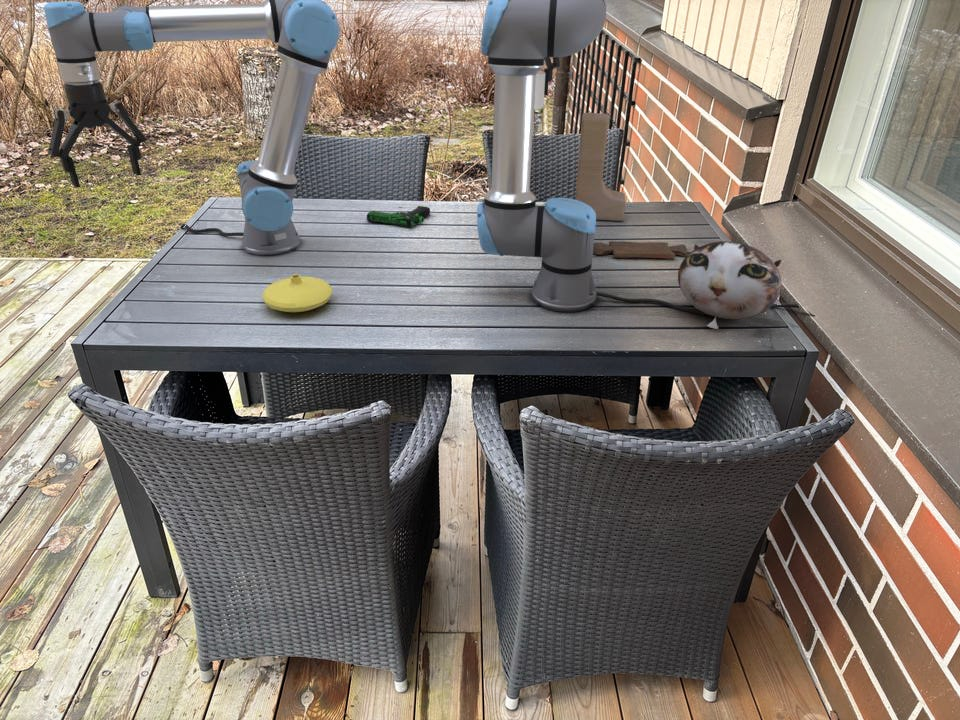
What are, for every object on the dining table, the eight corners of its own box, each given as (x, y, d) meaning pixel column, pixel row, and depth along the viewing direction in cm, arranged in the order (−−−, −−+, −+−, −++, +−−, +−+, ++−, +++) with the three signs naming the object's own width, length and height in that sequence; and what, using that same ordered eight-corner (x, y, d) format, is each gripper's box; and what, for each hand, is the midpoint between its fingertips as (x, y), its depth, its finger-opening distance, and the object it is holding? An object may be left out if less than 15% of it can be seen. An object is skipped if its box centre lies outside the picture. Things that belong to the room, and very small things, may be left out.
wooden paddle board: (691, 261, 192) (683, 247, 200) (692, 255, 191) (684, 241, 199) (595, 258, 192) (591, 244, 200) (595, 252, 191) (591, 238, 200)
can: (536, 110, 194) (537, 76, 189) (506, 107, 197) (507, 73, 193) (548, 104, 201) (550, 71, 196) (519, 101, 204) (520, 69, 200)
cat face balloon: (655, 305, 156) (684, 221, 158) (671, 327, 172) (697, 250, 173) (760, 330, 146) (790, 239, 147) (766, 351, 161) (793, 268, 163)
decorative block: (623, 221, 217) (635, 120, 201) (573, 219, 218) (582, 117, 203) (622, 213, 223) (634, 114, 208) (574, 210, 225) (582, 112, 209)
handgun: (435, 206, 218) (413, 220, 206) (436, 216, 220) (413, 230, 208) (389, 200, 224) (364, 213, 212) (389, 209, 225) (365, 223, 213)
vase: (301, 284, 175) (298, 257, 172) (347, 301, 167) (345, 273, 164) (249, 307, 164) (244, 278, 160) (296, 326, 156) (292, 297, 153)
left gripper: (24, 91, 143) (54, 195, 154) (147, 78, 159) (167, 172, 169) (12, 86, 148) (43, 187, 159) (133, 73, 163) (154, 166, 174)
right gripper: (569, 2, 190) (563, 91, 202) (488, 2, 188) (487, 92, 199) (576, 4, 184) (569, 96, 195) (493, 4, 181) (491, 97, 193)
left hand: (107, 180), depth 164 cm, fingers open, 13 cm apart
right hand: (528, 94), depth 197 cm, fingers closed on can, 9 cm apart
